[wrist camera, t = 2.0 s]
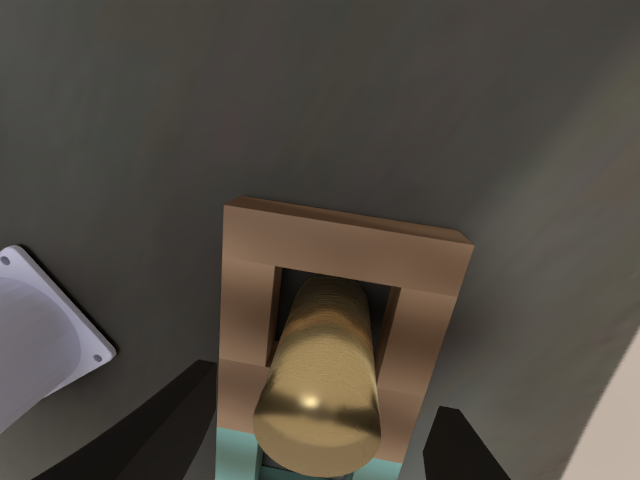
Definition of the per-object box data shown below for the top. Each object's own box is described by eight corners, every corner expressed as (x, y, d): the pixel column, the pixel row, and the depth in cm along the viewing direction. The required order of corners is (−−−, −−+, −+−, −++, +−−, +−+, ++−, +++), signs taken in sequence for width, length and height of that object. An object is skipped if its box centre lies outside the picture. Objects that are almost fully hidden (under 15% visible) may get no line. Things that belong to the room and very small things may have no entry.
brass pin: (319, 348, 16) (297, 490, 10) (280, 293, 15) (227, 408, 9) (382, 319, 15) (404, 455, 9) (344, 259, 15) (337, 361, 8)
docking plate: (371, 512, 20) (373, 550, 18) (226, 481, 21) (214, 516, 19) (457, 230, 14) (474, 245, 12) (241, 195, 14) (223, 204, 12)
